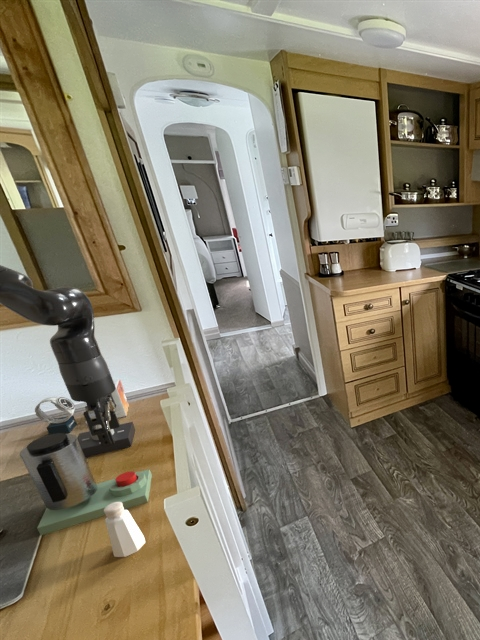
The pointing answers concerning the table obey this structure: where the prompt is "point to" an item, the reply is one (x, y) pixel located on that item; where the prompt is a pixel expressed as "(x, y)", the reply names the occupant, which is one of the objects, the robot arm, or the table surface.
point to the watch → (61, 423)
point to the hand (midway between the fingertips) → (111, 436)
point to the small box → (120, 400)
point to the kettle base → (98, 503)
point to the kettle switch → (126, 479)
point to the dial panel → (93, 447)
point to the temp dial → (96, 435)
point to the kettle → (59, 470)
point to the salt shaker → (122, 530)
